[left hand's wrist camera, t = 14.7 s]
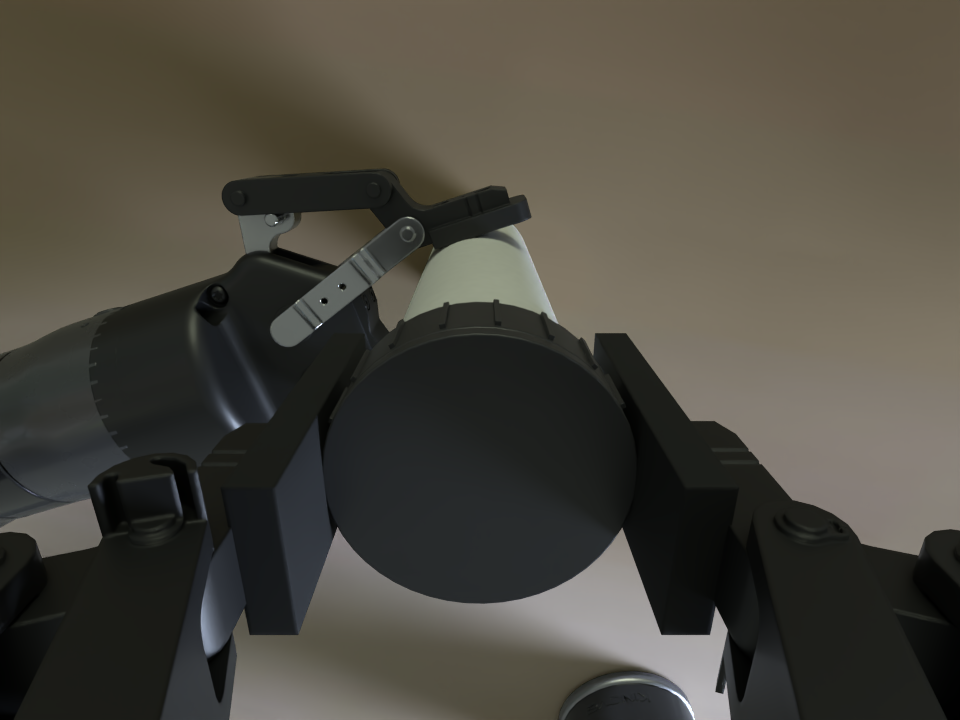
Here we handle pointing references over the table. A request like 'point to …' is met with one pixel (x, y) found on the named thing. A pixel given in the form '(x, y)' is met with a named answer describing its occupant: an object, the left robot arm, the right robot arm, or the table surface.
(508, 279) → the bottle
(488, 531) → the lid
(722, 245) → the table surface
